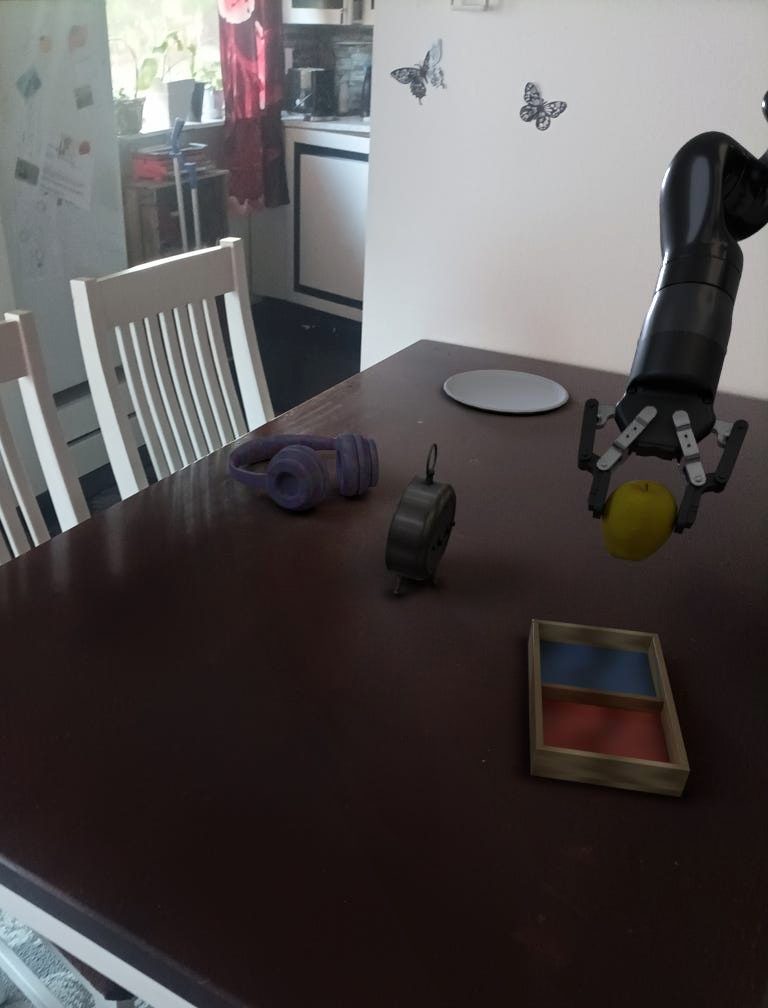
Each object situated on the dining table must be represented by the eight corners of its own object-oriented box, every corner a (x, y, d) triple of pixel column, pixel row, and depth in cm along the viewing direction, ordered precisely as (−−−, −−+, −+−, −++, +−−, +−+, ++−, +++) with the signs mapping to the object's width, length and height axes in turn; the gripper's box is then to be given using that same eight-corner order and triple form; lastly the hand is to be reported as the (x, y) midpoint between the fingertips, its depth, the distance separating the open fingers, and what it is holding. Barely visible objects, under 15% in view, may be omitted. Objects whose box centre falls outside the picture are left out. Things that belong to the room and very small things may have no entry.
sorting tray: (650, 658, 90) (658, 633, 88) (680, 797, 73) (690, 770, 72) (527, 643, 91) (532, 618, 90) (530, 775, 75) (536, 748, 74)
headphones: (401, 493, 119) (315, 463, 134) (400, 431, 115) (312, 408, 130) (285, 526, 110) (208, 491, 126) (280, 461, 107) (201, 432, 122)
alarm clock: (411, 554, 107) (425, 422, 97) (455, 564, 105) (474, 431, 95) (378, 597, 98) (389, 458, 89) (424, 609, 96) (441, 468, 87)
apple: (613, 578, 79) (634, 495, 75) (580, 544, 85) (597, 464, 80) (679, 571, 80) (703, 489, 76) (642, 538, 86) (663, 459, 81)
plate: (417, 393, 153) (418, 386, 152) (491, 368, 165) (492, 361, 164) (519, 428, 140) (520, 420, 140) (592, 398, 152) (593, 390, 151)
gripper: (600, 318, 80) (554, 493, 78) (777, 338, 75) (734, 524, 73) (596, 361, 87) (554, 522, 85) (758, 381, 82) (717, 552, 80)
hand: (637, 522), depth 79 cm, fingers closed on apple, 6 cm apart
